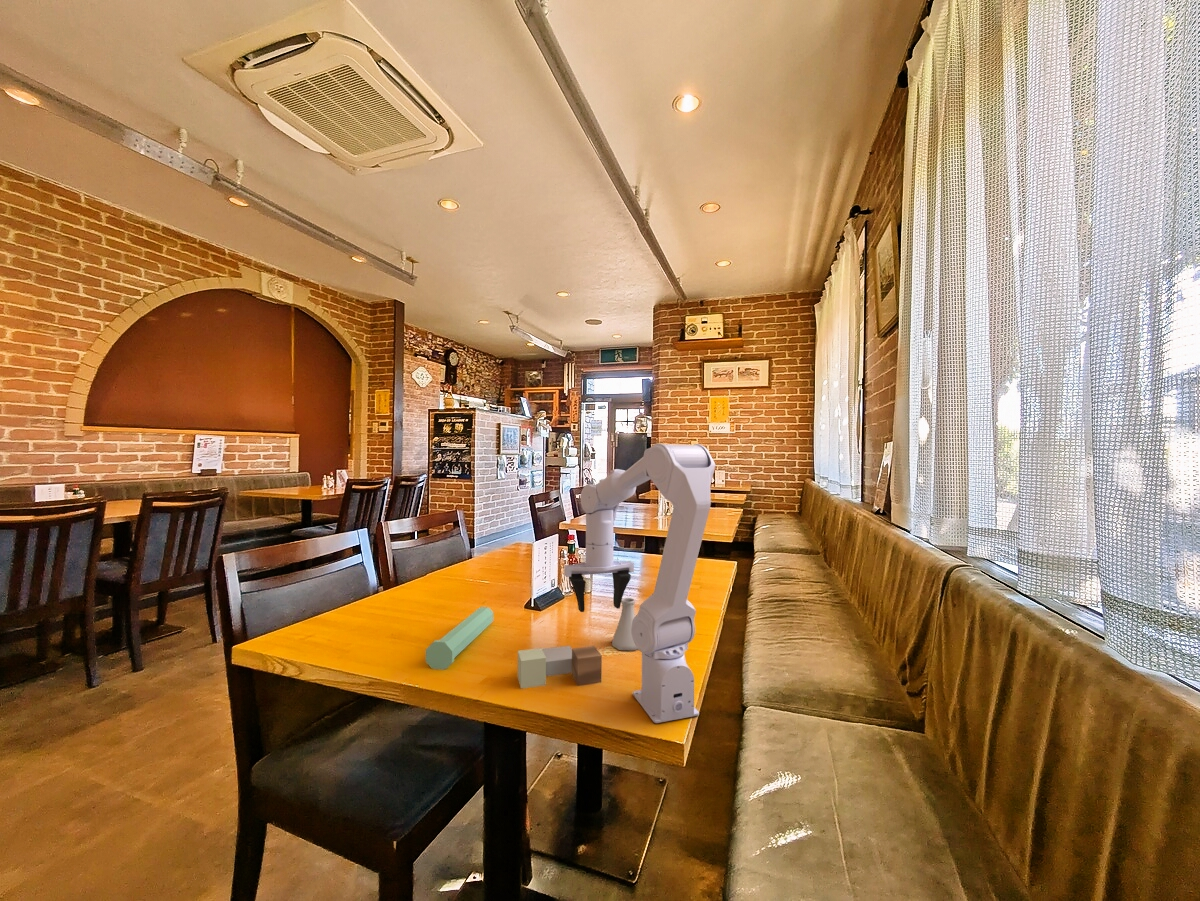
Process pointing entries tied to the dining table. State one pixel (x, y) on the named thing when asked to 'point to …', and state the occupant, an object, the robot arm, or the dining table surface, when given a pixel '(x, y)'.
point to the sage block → (531, 668)
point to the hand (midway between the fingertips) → (599, 608)
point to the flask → (625, 627)
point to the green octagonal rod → (458, 639)
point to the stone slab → (558, 660)
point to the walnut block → (586, 665)
